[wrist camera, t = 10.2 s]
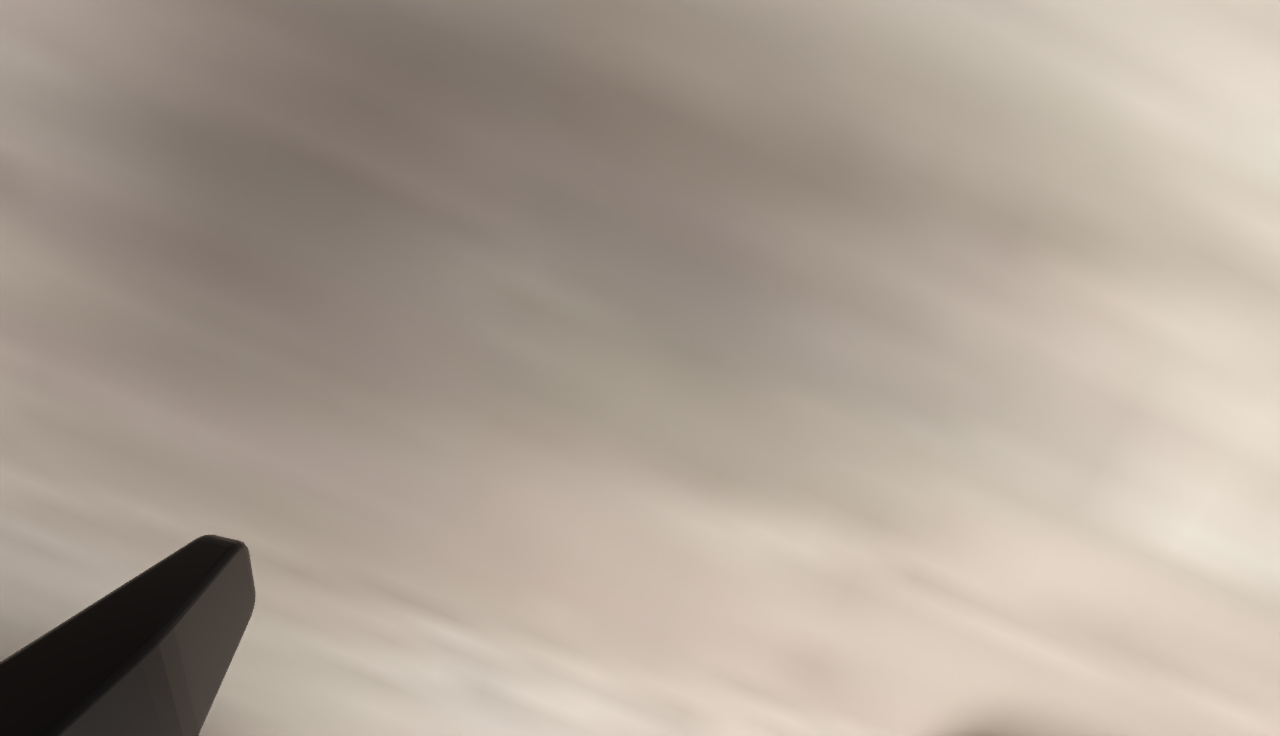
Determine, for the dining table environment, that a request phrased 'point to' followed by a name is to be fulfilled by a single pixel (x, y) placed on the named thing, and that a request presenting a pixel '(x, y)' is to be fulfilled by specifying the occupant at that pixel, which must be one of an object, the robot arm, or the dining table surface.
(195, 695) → the robot arm
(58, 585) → the dining table surface
